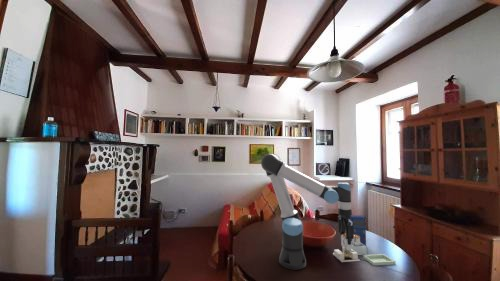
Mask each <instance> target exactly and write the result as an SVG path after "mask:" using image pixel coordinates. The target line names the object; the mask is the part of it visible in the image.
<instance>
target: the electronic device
mask: <svg viewBox="0 0 500 281" xmlns="http://www.w3.org/2000/svg"><path fill="white" fill-rule="evenodd" d="M350 219H351V222H354V225H353V234H356V235H359V236H360V242H361V243H362V244H364V245H365V246H367V231H366V230H367V229H366V227H367V226H366V216H365V215H362V214H361V215H357V214H355V215H353V214H352V215H351V216H350ZM351 241H352V239H351Z"/></svg>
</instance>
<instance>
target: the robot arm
mask: <svg viewBox="0 0 500 281" xmlns="http://www.w3.org/2000/svg"><path fill="white" fill-rule="evenodd" d="M260 164H261V168H262V169H263V170H264V171H265V173H266V177H268V178H270V179H269V180H270V181H271V185H272V187H273V191H274V194H275V196H276V199H277V202H278V205H279V208H280V212H281V213H280V216H279V217H280V219H281V222H282V225H281V229H282V230H281V233H282V237H281V238H282V239H281V240H282V242H281V244H282V246H281V251H280V254H279V257H278V262H279V264H280V266H282V267H284V268H285V269H288V270H295V271H296V270H299V271H300V270H302V269H304V268H305V267H306V266H307V259H306V255H305V253H304V247H303V246H304V242H303V241H304V235H303V234H304V225H303V221H302V219H301V217H300V215H299V212H298V210H296V209H295V207H294V204H293V201H292V198H291V195H290V193H289V190H288V187H287V184H286V181H285V180H287V181H289V182H291V183H293V184H295V185H296V186H298V187H300V188H302V189H304V190H306V191H307V192H309V193H310V194H311V193H312V194H313V195H314V196H317V197H318V198H320V199H322V200H324V201H325V202H326V203H328V204H331V205H332V204H333V205H334V204H336V203H337V207H338V209H337V211H338V212H337V213H338V216H337V226H338V227H337V228H338V233H339V234H340V241H341V247H342V234H345V233H346V236H347V238H346V250H351V239H354V237H353V225H354V222H351V219H350V216H351V215H353V213H352V187H351V183H348V182H337V184H336V185H325V184H324V183H321V182H319V181H318V180H316V179H314V178H311V177H310V176H308V175H307V174H304V173H302V172H300V171H298V170H296V169H295V168H293V167H290V166H289V165H287V164H286V163H285V161H283V160H282V159H281V158H280V156H279V155H277V154H275V153H267V154H265V155H264V156H263V157H262V158H261V161H260Z"/></svg>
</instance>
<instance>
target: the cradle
mask: <svg viewBox="0 0 500 281" xmlns="http://www.w3.org/2000/svg"><path fill="white" fill-rule="evenodd" d="M332 255H333V256H334V257H335V258H336V259H337V260H339V261H340V262H341V263H347V262H348V263H350V262H360V261H361V260H360V259H359V255H358V253H357V252H355V251H354V250H353V249H351V250H350V253H349V257H348V258H351V259H345V257H344V253H342V251H341V250H340V249H339V248H337V249H333V253H332Z"/></svg>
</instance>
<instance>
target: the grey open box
mask: <svg viewBox="0 0 500 281" xmlns="http://www.w3.org/2000/svg"><path fill="white" fill-rule="evenodd" d="M351 249H353V250H354V251H355V252H357V253H358V256H363V255H368V252H367V251H368V250H367V245H366V246H365V245H364V244H362V243H361V242H360V246H353V245H352V241H351Z"/></svg>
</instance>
